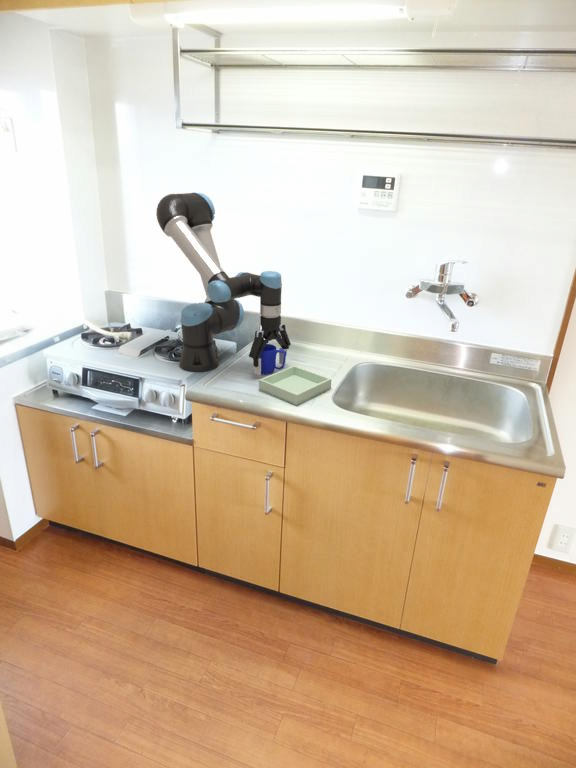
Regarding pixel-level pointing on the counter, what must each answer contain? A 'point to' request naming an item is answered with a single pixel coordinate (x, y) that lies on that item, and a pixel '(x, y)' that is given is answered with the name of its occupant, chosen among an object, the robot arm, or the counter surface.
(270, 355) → the mug
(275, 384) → the tray
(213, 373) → the counter surface
